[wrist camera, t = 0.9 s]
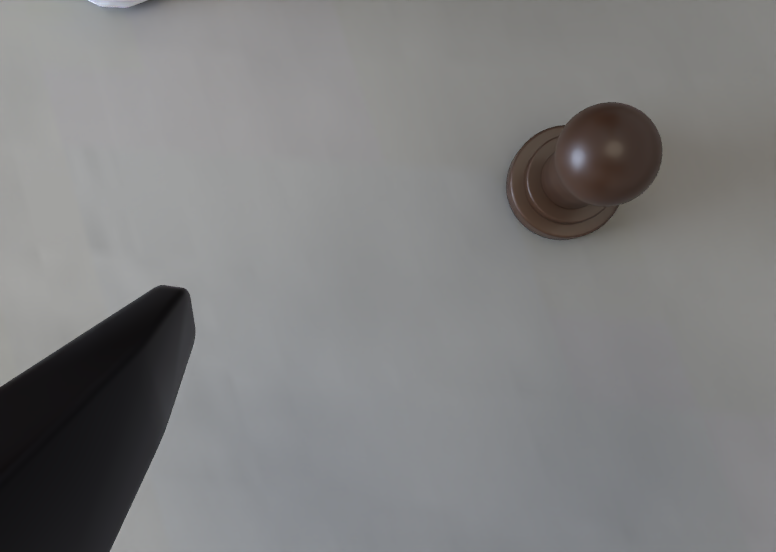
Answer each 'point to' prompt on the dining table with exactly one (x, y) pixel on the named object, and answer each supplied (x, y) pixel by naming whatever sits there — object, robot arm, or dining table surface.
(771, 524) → the dining table surface
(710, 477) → the dining table surface
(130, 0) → the rook chess piece
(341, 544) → the dining table surface
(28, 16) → the dining table surface
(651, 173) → the walnut pawn
